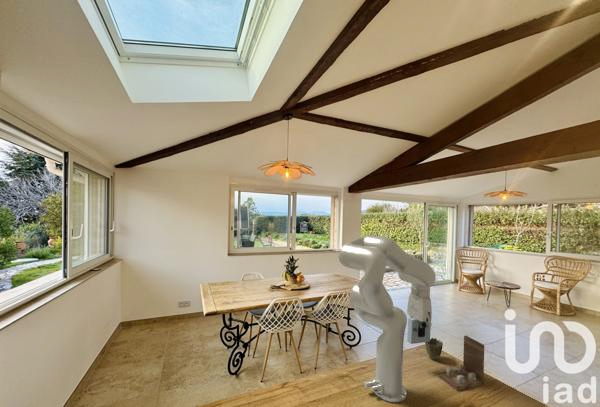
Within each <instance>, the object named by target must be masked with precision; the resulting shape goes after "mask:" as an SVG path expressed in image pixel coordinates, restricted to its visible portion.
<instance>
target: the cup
mask: <svg viewBox="0 0 600 407" xmlns="http://www.w3.org/2000/svg"><path fill="white" fill-rule="evenodd" d="M424 344H425V351H426V353H427V354H428V357H429V358H430V359H431V360H433V361H436V360H438V358H439V357H440V356H441V354H442V351H443V347H444V346H443V345H444V343H443V342H442V341H441V340H440V339H437V338H436V337H430V342H424Z"/></svg>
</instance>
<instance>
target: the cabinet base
mask: <svg viewBox="0 0 600 407" xmlns="http://www.w3.org/2000/svg"><path fill="white" fill-rule="evenodd" d="M462 361H463V363H462V365H458V366H457V370H454V368H452V367H447V368H446V370H445V371H446V372H444V373H440V374H439V379H441V380H442V381H444V382H445V383H446V384H447V385H448V386H449V387H452V388H453V389H454V390H455V391H462V390H465V389H469V388H473V387H478V386H482V385H484V384H485V378H484V376H485V375H484V373H485V372H484V371H485V344H483V343H482V342H479V341H478V340H476V339H474V338H472V337H470V336H468V335H464V336H463V359H462Z"/></svg>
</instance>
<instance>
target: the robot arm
mask: <svg viewBox="0 0 600 407" xmlns="http://www.w3.org/2000/svg"><path fill="white" fill-rule="evenodd" d="M338 261H339V263H340V264H341V265H342V266H343V267H346V268H347V269H348V268H349V269H353V270H357V271H360V272H364V274H363V276H362V277H361V278H360V280H359V282H358V283H355V284H354V285H353V286H351V288H350V292H349V304H350V305H351V307H352V308H353V309H354V311H355V312H356V314H357V315H358V316H359V318H360V319H361V320H362V321H363V322H364V323H366V324H368V325H370V326H373V327H375V328H377V329H380V330H381V331H382V333H381V334H380V335H379V336H378V337H377V339H376V352H375V354H376V355H375V356H376V357H375V375H373V376H372V379H371V380H368V381H364V382H363V386H364V388H365V389H368V388H369V389H370V390H371V391H372V392H373V394H374V395H375V396H376V397H378V398H379V399H382V400H383V401H387V402H390V403H400V402H403V401H404V400H406V398H407V392H408V391H407V389H406V386H405V385H403V373H404V372H403V371H404V370H403V369H404V368H403V367H404V366H403V365H404V342H405V341H404V340H405V334H406V327H407V325H408V318H407V314H408V316H409V318H415V319H416V320H418V321H419V327H418V337H425V328H426V327H427V326H431V327H432V326H433V325H432V316H433V315H432V314H433V310H432V308H433V307H432V299H431V287H432V286H434V285H435V282H436V279H437V276H436V272H435V271H434V269H433V267H431V265H429V264H428V263H427V262H425V261H424V260H422V259H420V258H419V257H416V256H414V255H412V254H409V253H408V252H406V251H405V250H404V248H402V247H401V246H400V245H399V243H397V242H396V241H395V240H394V239H392V238H390V237H388V236H381V235H373V234H366V235H365V234H364V235H363V236H360V237H357V238H355V239H353V240H351V241H349V242H346V243H344V244H343V245H342V246H341V248H340V249H339V252H338ZM387 267H388V268H390V269H391V270H392V271H394V272H395V273H396V272H397V275H398V278H399V279H400V280H401V281H402V282H405V283H409V284H411V286H410V293H409V296H408V299H407V300H408V302H407V309H406V310H407V311H406V312H407V314H406V313H405V312H404V310H403V309H401V308H399V307H397V306H396V305H394V301H393V299H392V297H391V295H390V294H389V292H388V290H387V289H386V286H385V285H384V283H383V281H384V276H385V272H386V268H387ZM423 322H424V323H423Z"/></svg>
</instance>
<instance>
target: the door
mask: <svg viewBox="0 0 600 407" xmlns="http://www.w3.org/2000/svg"><path fill="white" fill-rule="evenodd" d="M423 323H424V322H423ZM418 327H419V321H418V320H416V319H415V318H411V317H408V318H407V335H406V336H407V338H406V339H407V341H406V342H408V343H409V344H410V345H412V344H422V343H425V342H430V339H431V330H432V325H431V326H427V327H426V328H425V337H418Z"/></svg>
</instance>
